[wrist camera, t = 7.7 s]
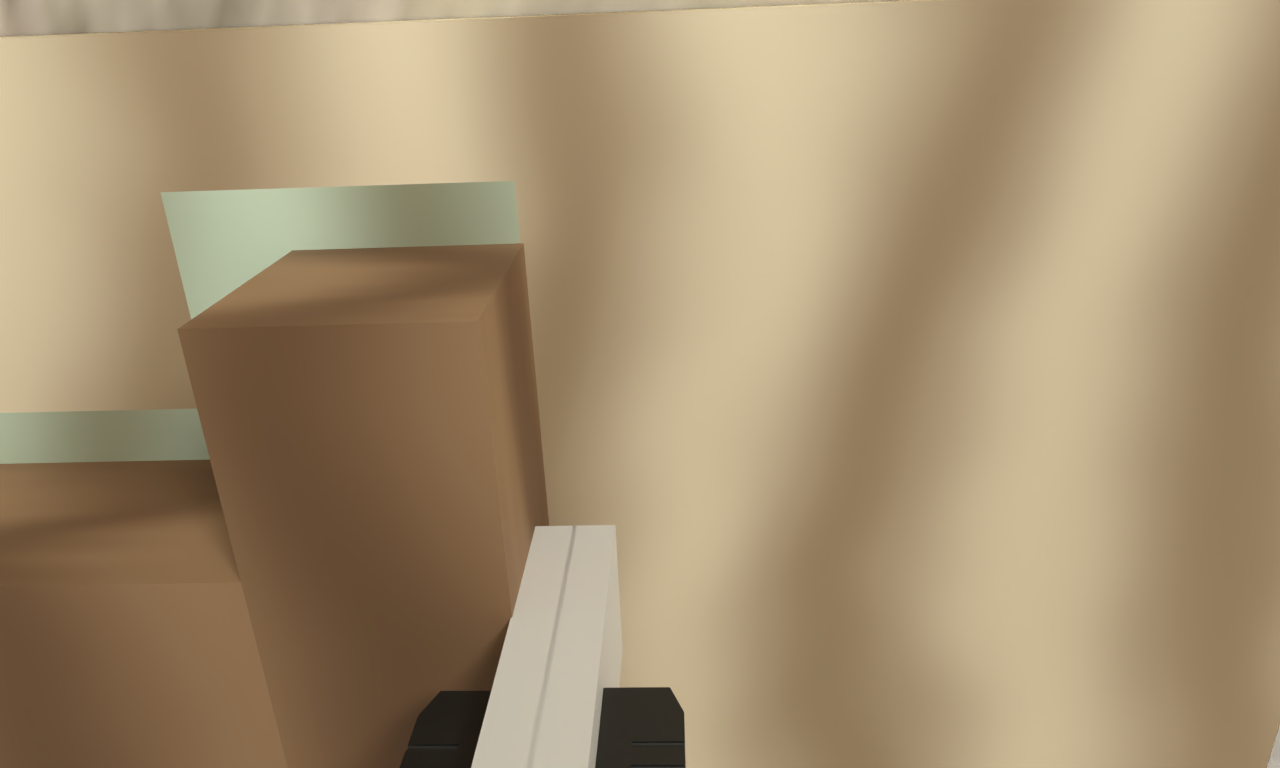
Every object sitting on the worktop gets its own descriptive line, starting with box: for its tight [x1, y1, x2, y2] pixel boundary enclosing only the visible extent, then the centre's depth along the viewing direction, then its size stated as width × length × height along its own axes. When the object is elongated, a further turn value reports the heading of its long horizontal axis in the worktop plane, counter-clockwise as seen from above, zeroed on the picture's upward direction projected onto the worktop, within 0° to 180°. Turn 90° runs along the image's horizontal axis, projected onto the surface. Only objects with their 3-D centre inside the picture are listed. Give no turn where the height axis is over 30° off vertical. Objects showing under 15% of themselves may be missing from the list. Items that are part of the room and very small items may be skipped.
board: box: [0, 0, 1280, 768], centre depth 18 cm, size 30×19×1 cm, turn 92°
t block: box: [0, 243, 549, 768], centre depth 16 cm, size 12×12×4 cm
